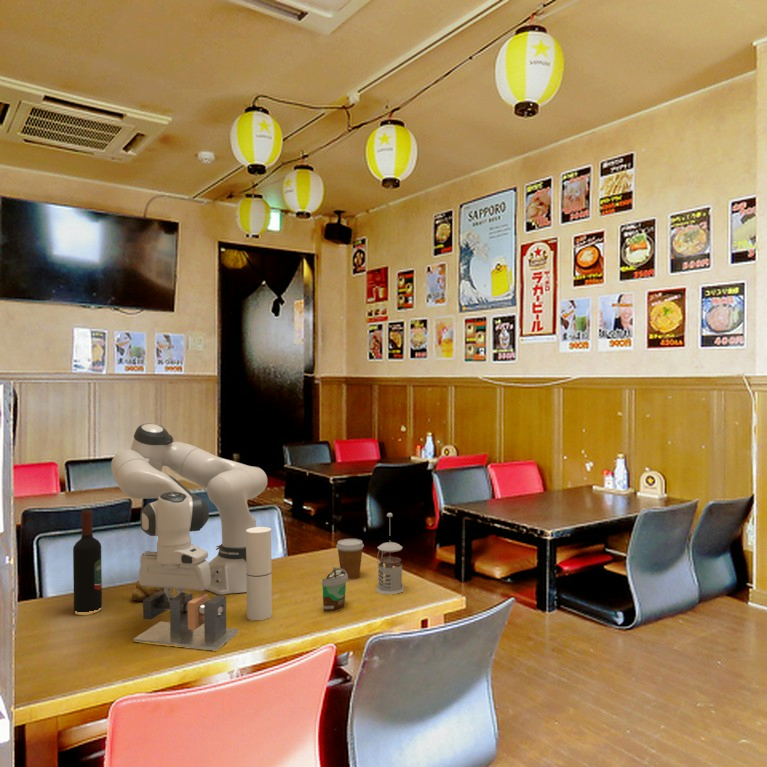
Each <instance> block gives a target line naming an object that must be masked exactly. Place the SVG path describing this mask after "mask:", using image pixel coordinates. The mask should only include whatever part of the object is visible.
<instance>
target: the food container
mask: <svg viewBox="0 0 767 767" xmlns="http://www.w3.org/2000/svg"><path fill="white" fill-rule="evenodd" d="M321 579H322V580H321V587H322V604H323V605H322V606H323V612H324V613H325V611H326V612H327V613H328V612H336V610H337V611H339V609H340V610H342V609H343V608H344V607H345V606H344V605H345V604H346V587H347V586H346V585H347V582H348V581H349V579H348V575H347V573H346V571H345V570H344V569H341V568H340V567H332V571H331V572H329V574H328V575H327V576H326V577H325V578H321ZM341 608H342V609H341Z"/></svg>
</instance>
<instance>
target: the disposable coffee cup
mask: <svg viewBox="0 0 767 767" xmlns="http://www.w3.org/2000/svg"><path fill="white" fill-rule="evenodd" d="M335 546H336V549H337V553H338V562H339V568H341V569H344V570H345V571H346V573H347V575H348V580H354V579H353V578H355V579H358V578H360V575H361V566H362V565H361V564H362V558H363V557H362V556H363V555H362V554H363V548H364V547H365V545H364V543H363V540H361V539H358V538H344V539H339V540H338V541H337V544H336V545H335Z"/></svg>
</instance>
